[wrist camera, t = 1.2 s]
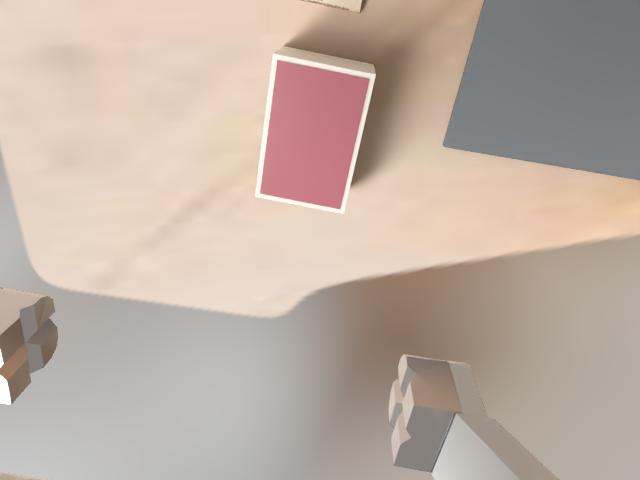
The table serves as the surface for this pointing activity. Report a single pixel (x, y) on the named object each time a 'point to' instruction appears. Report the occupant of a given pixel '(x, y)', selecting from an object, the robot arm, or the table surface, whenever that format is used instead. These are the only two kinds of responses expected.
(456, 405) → the robot arm
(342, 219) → the table surface
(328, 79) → the card box
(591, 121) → the mat
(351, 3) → the newspaper
